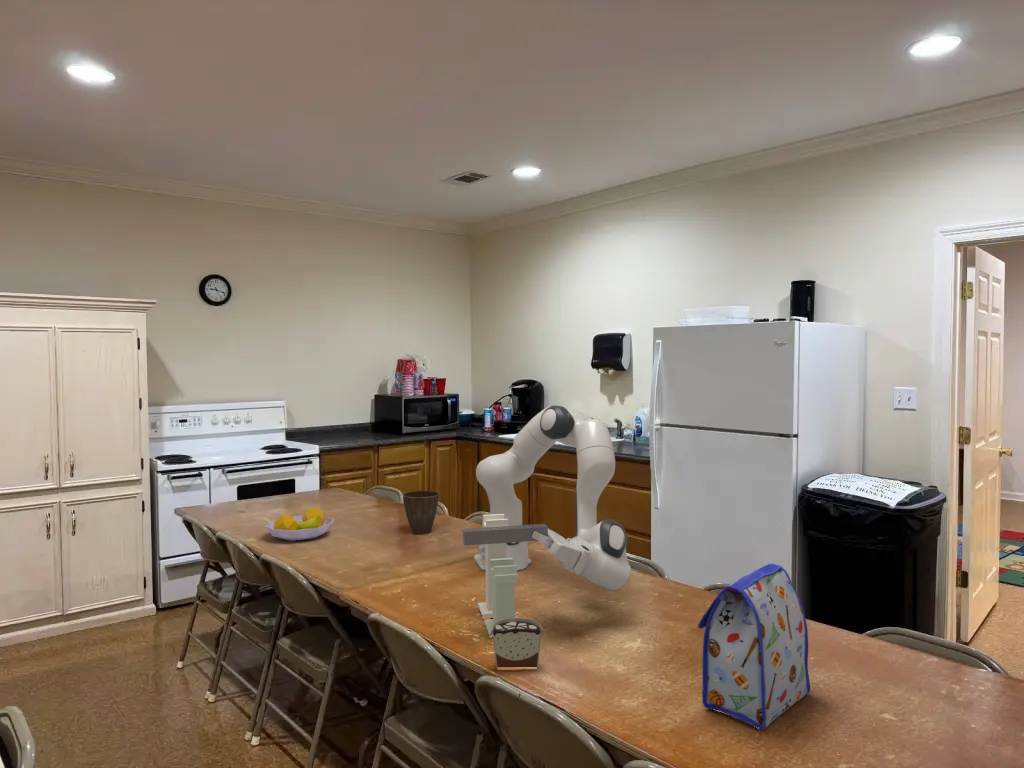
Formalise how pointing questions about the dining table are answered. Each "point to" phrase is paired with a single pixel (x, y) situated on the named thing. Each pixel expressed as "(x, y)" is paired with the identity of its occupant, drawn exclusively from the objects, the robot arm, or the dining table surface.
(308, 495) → the dining table surface
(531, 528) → the metal bar
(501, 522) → the tall stand
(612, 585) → the robot arm
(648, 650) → the dining table surface
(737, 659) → the lunch bag
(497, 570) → the low stand
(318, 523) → the fruit bowl
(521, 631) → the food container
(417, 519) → the plant pot
